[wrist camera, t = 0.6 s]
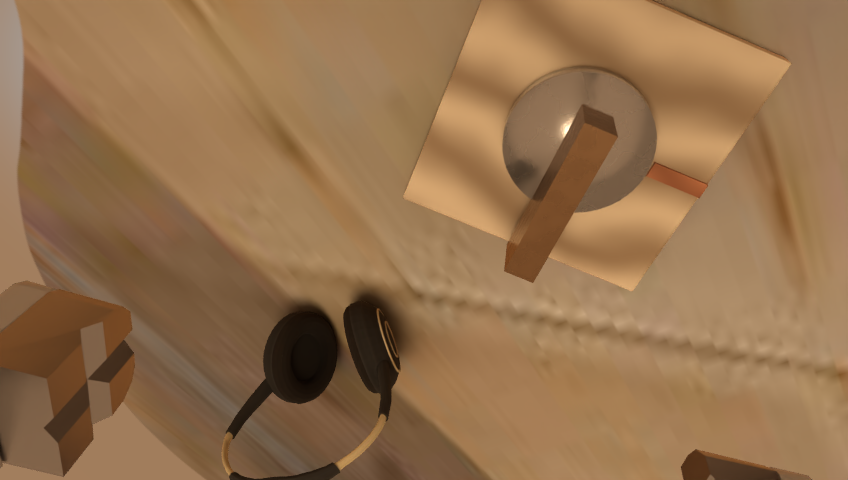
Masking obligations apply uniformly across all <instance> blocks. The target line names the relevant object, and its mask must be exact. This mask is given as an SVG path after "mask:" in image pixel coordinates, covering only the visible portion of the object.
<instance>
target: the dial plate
mask: <svg viewBox="0 0 848 480" xmlns="http://www.w3.org/2000/svg"><path fill="white" fill-rule="evenodd" d="M791 64H792V63H790V62H789V61H788V60H787V59H786V58H785V57H782V56H780V55H778V54H775V53H773V52H771V51H768V50H766V49H764V48H761V47H759V46H757V45H754V44H752V43H750V42H747V41H745V40H743V39H741V38H738V37H736V36H734V35H731V34H729V33H727V32H724V31H722V30H720V29H717V28H715V27H713V26H710V25H708V24H706V23H703V22H701V21H699V20H696V19H694V18H692V17H690V16H687V15H685V14H683V13H680V12H678V11H676V10H673V9H671V8H669V7H666V6H664V5H662V4H659V3H657V2H655V1H652V0H482V1H481V4H480V6H479V9H478V11H477V14H476V16H475V19H474V21H473V24H472V26H471V29H470V31H469V34H468V36H467V39H466V41H465V44H464V46H463V49H462V51H461V54H460V56H459V59H458V61H457V64H456V66H455V69H454V71H453V74H452V76H451V79H450V81H449V84H448V86H447V89H446V91H445V94H444V96H443V99H442V101H441V104H440V106H439V109H438V111H437V114H436V116H435V119H434V121H433V124H432V126H431V129H430V131H429V134H428V136H427V139H426V141H425V144H424V146H423V149H422V151H421V154H420V156H419V159H418V161H417V164H416V166H415V169H414V171H413V174H412V176H411V179H410V181H409V184H408V186H407V189H406V191H405V194H404V196H403V198H404V199H407V200H409V201H412V202H414V203H417V204H419V205H421V206H424V207H426V208H429V209H431V210H434V211H436V212H439V213H441V214H444V215H446V216H449V217H451V218H453V219H456V220H458V221H461V222H463V223H466V224H468V225H471V226H473V227H476V228H478V229H480V230H483V231H485V232H488V233H490V234H493V235H495V236H498V237H500V238H503V239H505V240H507V241H509V240H510V238H511V236H512V234H513V232H514V230H515V228H516V226H517V225H518V223H519V221H520V219H521V217H522V215H523V213H524V211H525V209H526V208H527V206H528V204H529V202H530V200H531V199H530V198H529V197H527V196H526V195H525V194H524V193H523V192H522V191H521V190H520V189H519V188H518V187H517V186H516V185H515V183H514V182H513V180H512V179H511V177H510V175H509V173H508V171H507V168H506V165H505V162H504V157H503V148H502V143H503V133H504V128H505V123H506V119H507V117H508V114H509V112H510V110H511V108H512V106H513V104H514V103H515V101H516V100H517V98H518V97H519V96H520V95H521V93H522V92H523V91H524V90H525V89H526V88H527V87H529V86H530V85H531V84H532V83H534V82H535V81H536V80H538V79H540V78H541V77H543V76H545V75H547V74H549V73H551V72H554V71H557V70H560V69H564V68H569V67H578V66H588V67H597V68H602V69H605V70H608V71H611V72H614V73H616V74H618V75H620V76H622V77H623V78H625V79H626V80H628V81H629V82H631V83H632V84H633V85H634V86H635V87H636V88H637V89H638V90H639V92H640V93H641V94H642V95H643V97H644V98H645V100H646V102H647V104H648V106H649V108H650V111H651V113H652V116H653V118H654V121H655V126H656V132H657V145H656V151H655V156H654V159H653V162H652V164H651V167H650V169H649V171H648V172H647V174H646V176H645V177H644V179H643V180H642V181H641V183H640V184H639V185H638V186H637V187H636V188H635V189H634V190H633V191H632V192H631V193H629V194H628V195H627V196H626V197H624V198H623V199H621V200H620V201H618V202H616V203H614V204H612V205H610V206H607V207H605V208H602V209H598V210H594V211H589V212H580V213H573V215H572V217H571V219H570V220H569V222H568V224H567V225H566V227H565V229H564V231H563V232H562V234H561V236H560V237H559V239H558V241H557V243H556V244H555V246H554V248H553V249H552V251H551V253H550V255H549V256H548V257H549V258H552V259H554V260H557V261H559V262H562V263H564V264H566V265H569V266H571V267H574V268H576V269H579V270H581V271H584V272H586V273H589V274H591V275H593V276H596V277H598V278H601V279H603V280H606V281H608V282H611V283H613V284H616V285H618V286H620V287H623V288H625V289H628V290H630V291H633V290H634V288H635V287H636V285H637V284H638V282H639V281H640V280H641V278H642V277H643V275H644V274H645V272H646V271H647V270H648V268H649V267H650V265H651V264H652V262H653V261H654V260H655V258H656V257H657V255H658V254H659V252H660V251H661V250H662V248H663V247H664V245H665V244H666V242H667V241H668V240H669V238H670V237H671V235H672V234H673V232H674V231H675V230H676V228H677V227H678V225H679V224H680V222H681V221H682V220H683V218H684V217H685V215H686V214H687V212H688V211H689V210H690V208H691V207H692V205H693V204H694V202H695V201H696V200H697V198H700V196H701V195H702V193H703V192H704V191H705V189H706V188H707V186H708V182H709V181H710V180H711V178H712V177H713V175H714V174H715V172H716V171H717V170H718V168H719V167H720V165H721V164H722V162H723V161H724V160H725V158H726V157H727V155H728V154H729V152H730V151H731V149H732V148H733V147H734V145H735V144H736V142H737V141H738V139H739V138H740V137H741V135H742V134H743V132H744V131H745V129H746V128H747V127H748V125H749V124H750V122H751V121H752V119H753V118H754V117H755V115H756V114H757V112H758V111H759V109H760V108H761V107H762V105H763V104H764V102H765V101H766V99H767V98H768V97H769V95H770V94H771V92H772V91H773V89H774V88H775V87H776V85H777V84H778V82H779V81H780V79H781V78H782V77H783V75H784V74H785V72H786V71H787V69H788V68H789V67H790V65H791Z"/></svg>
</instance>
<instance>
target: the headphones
mask: <svg viewBox="0 0 848 480" xmlns="http://www.w3.org/2000/svg"><path fill="white" fill-rule="evenodd" d="M343 319H344V328H345V333H346V338H347V342H348V345H349V349H350V352H351V355H352V358H353V361H354V363H355V366H356V368H357V371H358V373H359V375H360V377H361V379H362V381H363V383H364V384H365V386H366V387H367V389H368V390H369V391H371V392H373V393H379V394H380V393H381V401H380V408H379V415H378V417H379V420H378V422H377V424H376V426H375V427H374V429H373V430H372V432H371V433H370V434H369V435H368V437H367V438H366V439H365V440H364V441H363V442H362V443H361V444H360V445H359V446H358V447H357V448H355V449H354V450H353V451H352V452H351V453H349V454H348V455H347V456H345V457H344V458H342V459H341V460H339V461H338V462H336V463H331V464H329V465H327V466H325V467H322V468H319V469H316V470H313V471H310V472H306V473H302V474H299V475H294V476H287V477H270V478H263V479H253V478H247V477H244V476H241V475H239V474H238V473H236V472H234V471H233V470H232V468H231V467H230V464H229V461H228V449H229V445H230V442H231V440H232V439H234V438H235V436H236V435H237V433H238V432H239V430H240V429H241V427H242V426H243V424H244V423H245V421H246V420H247V419H248V418H249V417H250V416H251V415H252V413H253V412H254V411H255V410H256V409H257V408H258V407H259V406H260V405H261V404H262V403H263V402H264V401H265V399H266V398H267V397H268V396H269V395H270V394H271V393H272V392H273V393H274V394H275V395H276V396H278V397H279V398H280V399H282V400H284V401H286V402H291V403H297V404H301V403H306V402H308V401H311V400H313V399H315V398H317V397H318V396H319V395H320V394H321V393H322V392H323V391H324V390H325V389H326V387H327V386H328V384H329V382H330V381H331V379H332V376H333V374H334V371H335V367H336V362H337V344H336V340H335V336H334V333H333V331H332V329H331V327H330V325H329V324H328V322H327V321H326V320H325V319H324V318H322V317H321V316H319V315H317V314H315V313H312V312H295V313H292V314H289V315H287V316H286V317H284V318H283V319H282V320H280V321H279V322H278V324H277V325H276V326H275V327H274V329H273V330H272V332H271V334H270V336H269V337H268V340H267V343H266V346H265V350H264V358H263V364H264V372H265V377H266V379H265V380H264V381H263V382H262V383H261V384H260V386H259V387H258V388H257V389H256V390H255V392H254V393H253V394H252V395H251V397H250V398H249V399H248V400H247V402H246V403H245V404H244V406H243V407H242V408H241V410H240V411H239V412H238V414H237V415H236V417H235V418H234V420H233V421H232V423H231V425H230V426H229V428H228V430H227V431H226V436H225V438H224V441H223V445H222V462H223V465H224V467H225V470H226V471H227V473H228V474H229V478H230V480H330V479H331V478H333V477H334V476H335V475H337V474H338V473H340V470H341V469H343V468H344V467H345V466H346V465H348V464H349V463H351V462H352V461H353V460H355V459H356V458H357V457H358V456H359V455H361V454H362V453H363V452H364V451H365V450H366V449H367V448H368V447H369V446H370V445H371V444H372V442H373V441H374V440H375V439H376V437H377V436H378V435H379V433H380V432H381V430H382V428H383V426H384V425H385V422H386V421H387V420H388V416H389V411H390V406H391V389H392V387H393V385H394V384H395V382H396V380H397V377H398V374H399V372H400V360H399V355H398V350H397V346H396V343H395V340H394V337H393V334H392V331H391V329H390V327H389V324H388V322H387V320H386V318H385V316H384V315H383V313H382V311H381V310H380V309H379V308H378V309H377V308H376V307H374V306H373V305H371V304H369V303H367V302H364V301H358V302H355V303H352V304H350V306H348V307H347V308H346V309H345V312H344V315H343Z"/></svg>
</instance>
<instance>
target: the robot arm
mask: <svg viewBox="0 0 848 480" xmlns="http://www.w3.org/2000/svg"><path fill="white" fill-rule="evenodd" d="M131 331H132V321H131V313H130V311H129V310H127V309H126V308H124V307H123V306H119V305H116V304H112V303H108V302H105V301H101V300H97V299H94V298H90V297H87V296H83V295H79V294H76V293H72V292H68V291H65V290H61V289H54V288H51V287H47V286H44V285H40V284H37V283H33V282H30V281H23V282H19V283H15V284H13V285H12V286H10V287H9V288H8V289H7V290H5V291H4V292H3V293H1V294H0V467H2V463H6V464H11V465H15V466H19V467H24V468H28V469H32V470H36V471H41V472H45V473H49V474H54V475H58V476H62V477H64V476H65V474H66V473H67V472H68V471H69V469H70V468H71V467H72V465H73V464H74V463H75V462H76V460H77V459H78V458H79V457H80V456H81V454H82V453H83V452H84V450H85V449H86V448H87V447H88V445H89V444H90V443H91V442H92V440H93V425H92V424H95V423H97V422H99V421H101V420H103V419H105V418H108V417H110V416H112V415H113V414H114V412H115V411H116V410H117V408H118V407H119V406H120V404H121V403H122V402H123V401H124V399H125V396H126V394H127V392H128V390H129V387H130V385H131V383H132V380H133V374H134V368H135V358H134V352H133V351H132V349H131V348H130V347H129V345H128V344H127V343H126V341H125V340H124V339H125V337H126V336H127V335H128V334H129V333H130V332H131ZM681 470H682V475H683V479H684V480H812V479H811V478H810V477H809V476H807V475H803V474H799V473H794V472H790V471H786V470H782V469H777V468H773V467H766V466H763V465H759V464H755V463H751V462H747V461H743V460H738V459H734V458H730V457H726V456H722V455H718V454H714V453H709V452H705V451H701V450H697V449H696V450H694V451H693V452H692V453H690V454H689V455H688V456H687V458H686V459H685V461H684V463H683V464H682V466H681Z"/></svg>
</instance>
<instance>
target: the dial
mask: <svg viewBox="0 0 848 480" xmlns="http://www.w3.org/2000/svg"><path fill="white" fill-rule="evenodd" d="M656 145H657V132H656V126H655V121H654V118H653V116H652V113H651V111H650V108H649V106H648V104H647V102H646V100H645V98H644V97H643V95H642V94H641V93H640V92H639V90H638V89H637V88H636V87H635V86H634V85H633V84H632V83H631V82H629V81H628V80H626V79H625V78H623V77H622V76H620V75H618V74H616V73H614V72H611V71H608V70H605V69H602V68H597V67H588V66H578V67H569V68H564V69H560V70H557V71H554V72H551V73H549V74H547V75H545V76H543V77H541V78H540V79H538V80H536V81H535V82H534V83H532V84H531V85H530V86H529V87H527V88H526V89H525V90H524V91H523V92H522V93H521V95H520V96H519V97H518V98H517V100H516V101H515V103H514V104H513V106H512V108H511V110H510V112H509V114H508V117H507V119H506V123H505V128H504V133H503V143H502V148H503V157H504V162H505V165H506V168H507V171H508V173H509V175H510V177H511V179H512V180H513V182H514V183H515V185H516V186H517V187H518V188H519V189H520V190H521V191H522V192H523V193H524V194H525V195H526V196H527V197H529V198H530V199H531V200H530V202H529V204H528V206H527V208H526V209H525V211H524V213H523V215H522V217H521V219H520V221H519V223H518V225H517V226H516V228H515V230H514V232H513V234H512V236H511V238H510V240H509V242H508V243H507V249H506V259H505V269H504V271H505V272H507V273H510V274H512V275H515V276H517V277H520V278H522V279H525V280H527V281H530V282H532V283H533V282H534V280H535V279H536V277H537V275H538V274H539V272H540V270H541V268H542V267H543V265H544V263H545V262H546V260H547V258H548V256H549V255H550V253H551V251H552V249H553V248H554V246H555V244H556V243H557V241H558V239H559V237H560V236H561V234H562V232H563V231H564V229H565V227H566V225H567V224H568V222H569V220H570V219H571V217H572V215H573V213H580V212H589V211H594V210H598V209H602V208H605V207H607V206H610V205H612V204H614V203H616V202H618V201H620V200H621V199H623V198H624V197H626V196H627V195H628V194H629V193H631V192H632V191H633V190H634V189H635V188H636V187H637V186H638V185H639V184H640V183H641V181H642V180H643V179H644V177H645V176H646V174H647V172H648V171H649V169H650V167H651V164H652V162H653V159H654V156H655V151H656Z"/></svg>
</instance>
